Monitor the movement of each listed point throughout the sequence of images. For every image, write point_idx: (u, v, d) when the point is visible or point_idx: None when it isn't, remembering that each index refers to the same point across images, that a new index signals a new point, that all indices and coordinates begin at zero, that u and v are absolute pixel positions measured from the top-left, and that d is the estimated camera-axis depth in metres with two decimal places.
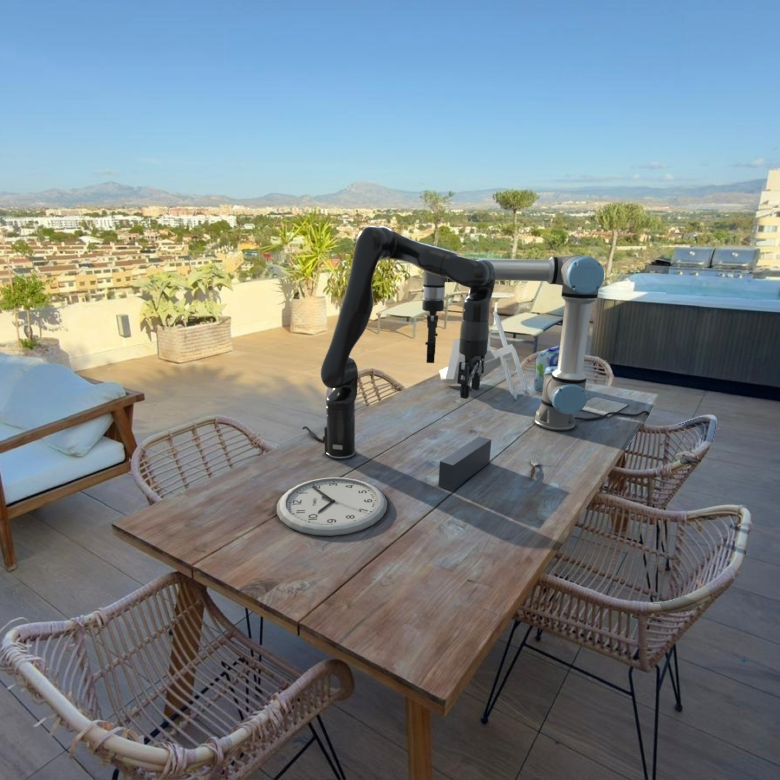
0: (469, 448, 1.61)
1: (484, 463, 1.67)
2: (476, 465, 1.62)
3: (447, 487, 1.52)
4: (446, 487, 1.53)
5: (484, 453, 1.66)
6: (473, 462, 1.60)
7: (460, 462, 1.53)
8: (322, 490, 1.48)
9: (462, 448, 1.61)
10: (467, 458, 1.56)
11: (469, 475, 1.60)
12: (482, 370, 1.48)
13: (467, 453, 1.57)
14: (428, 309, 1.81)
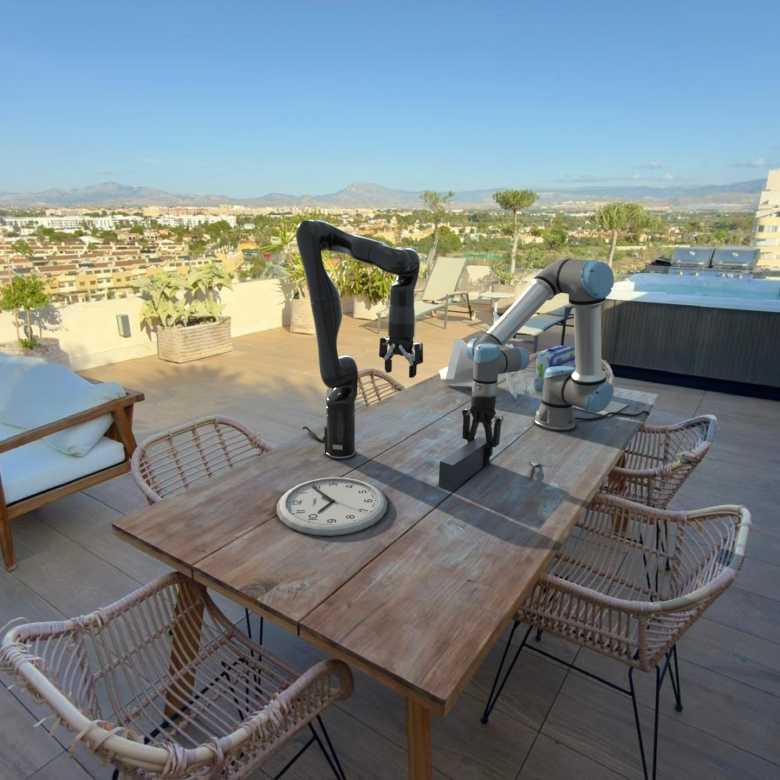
0: (469, 448, 1.61)
1: None
2: (476, 465, 1.62)
3: (447, 487, 1.52)
4: (446, 487, 1.53)
5: None
6: (473, 462, 1.60)
7: (460, 462, 1.53)
8: (322, 490, 1.48)
9: (462, 448, 1.61)
10: (467, 458, 1.56)
11: (469, 475, 1.60)
12: (387, 352, 1.58)
13: (467, 453, 1.57)
14: (491, 407, 1.60)
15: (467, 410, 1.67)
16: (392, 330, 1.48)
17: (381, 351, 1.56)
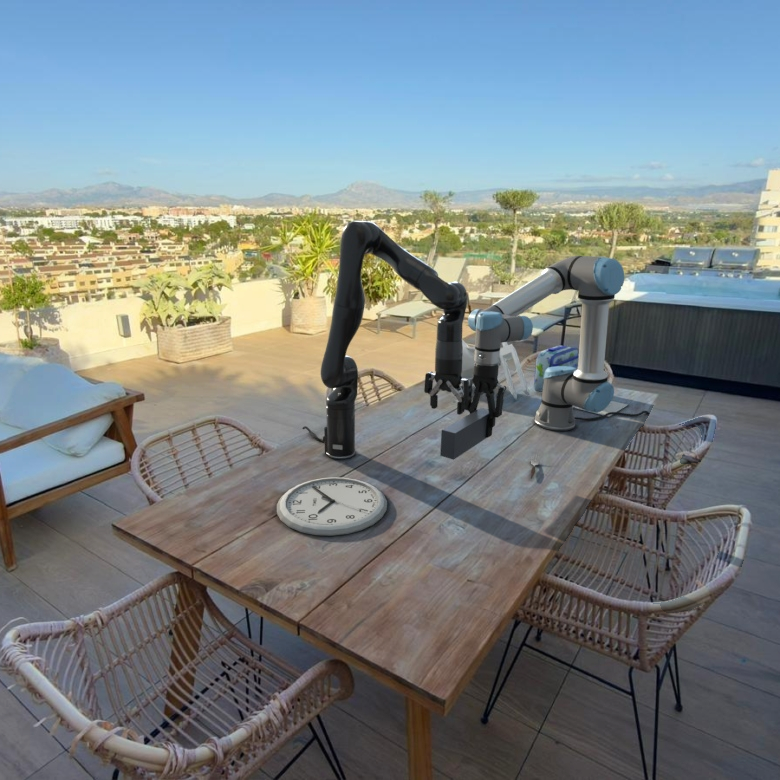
0: (472, 418, 1.58)
1: None
2: (478, 435, 1.60)
3: (449, 456, 1.50)
4: (448, 456, 1.50)
5: None
6: (475, 432, 1.57)
7: (462, 431, 1.50)
8: (322, 490, 1.48)
9: (464, 418, 1.58)
10: (469, 427, 1.53)
11: (471, 445, 1.57)
12: None
13: (469, 422, 1.54)
14: (493, 376, 1.57)
15: None
16: (439, 366, 1.43)
17: (427, 387, 1.51)
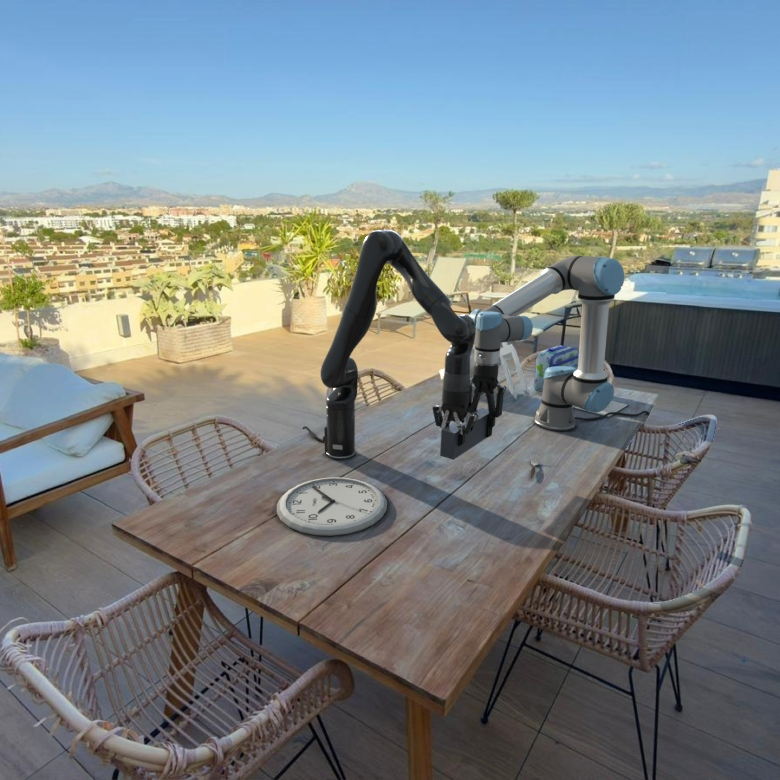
0: None
1: None
2: (478, 436, 1.60)
3: (449, 456, 1.50)
4: (448, 456, 1.50)
5: None
6: (475, 432, 1.57)
7: None
8: (322, 490, 1.48)
9: None
10: None
11: (471, 445, 1.57)
12: (443, 420, 1.53)
13: None
14: (493, 376, 1.57)
15: None
16: (447, 397, 1.45)
17: (437, 420, 1.52)
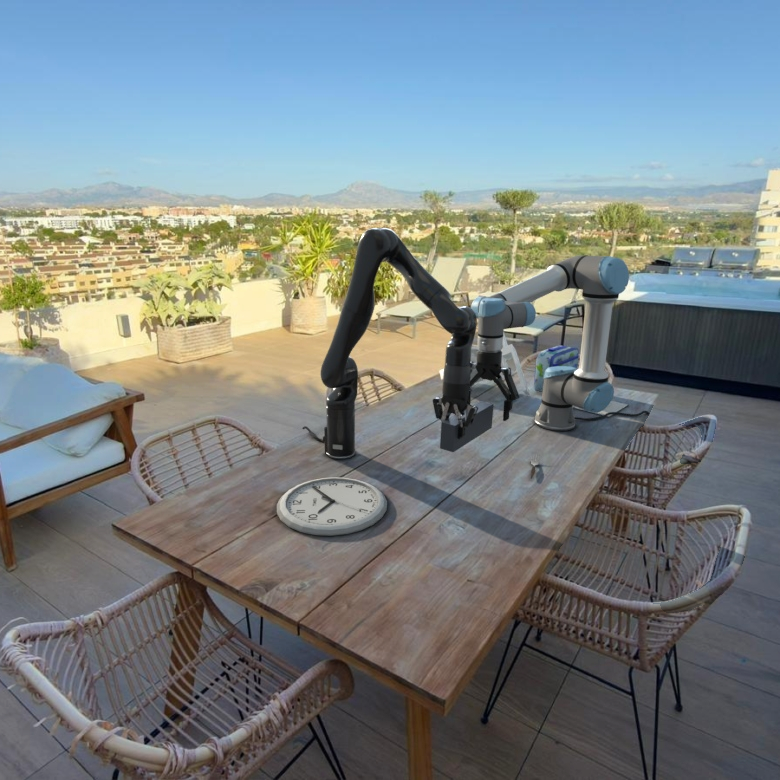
0: None
1: (486, 428, 1.64)
2: (478, 429, 1.59)
3: (449, 449, 1.49)
4: (448, 449, 1.49)
5: (487, 417, 1.63)
6: (475, 425, 1.57)
7: None
8: (322, 490, 1.48)
9: None
10: None
11: (471, 438, 1.56)
12: (443, 412, 1.53)
13: None
14: (497, 362, 1.57)
15: (472, 364, 1.63)
16: (447, 389, 1.44)
17: (437, 412, 1.51)
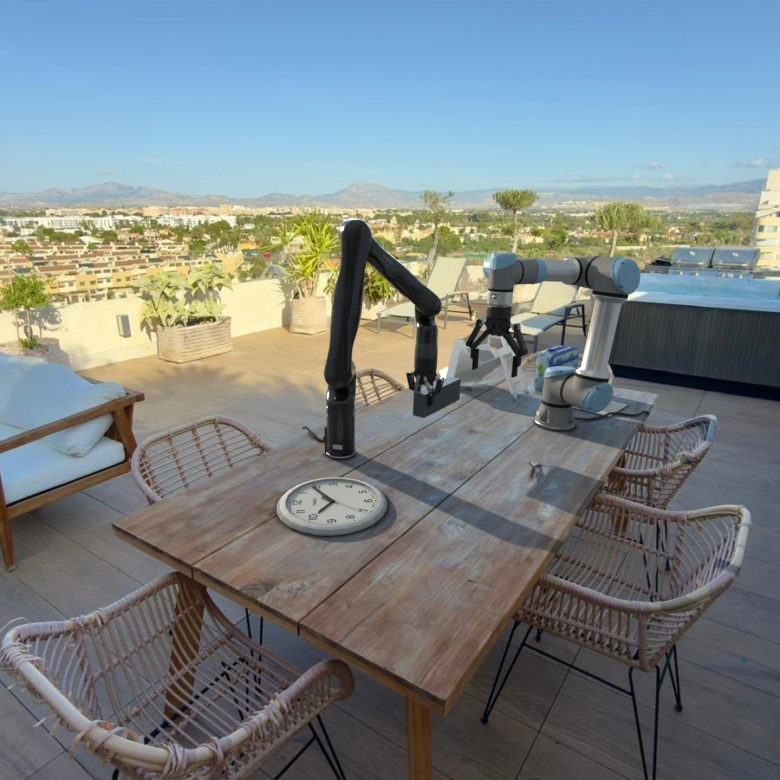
0: None
1: (454, 399, 1.89)
2: (446, 399, 1.84)
3: (420, 415, 1.73)
4: (419, 415, 1.74)
5: (454, 390, 1.87)
6: (443, 396, 1.81)
7: None
8: (322, 490, 1.48)
9: (434, 384, 1.82)
10: None
11: (440, 407, 1.81)
12: None
13: None
14: (506, 317, 1.57)
15: (482, 321, 1.63)
16: (418, 363, 1.68)
17: (410, 384, 1.75)
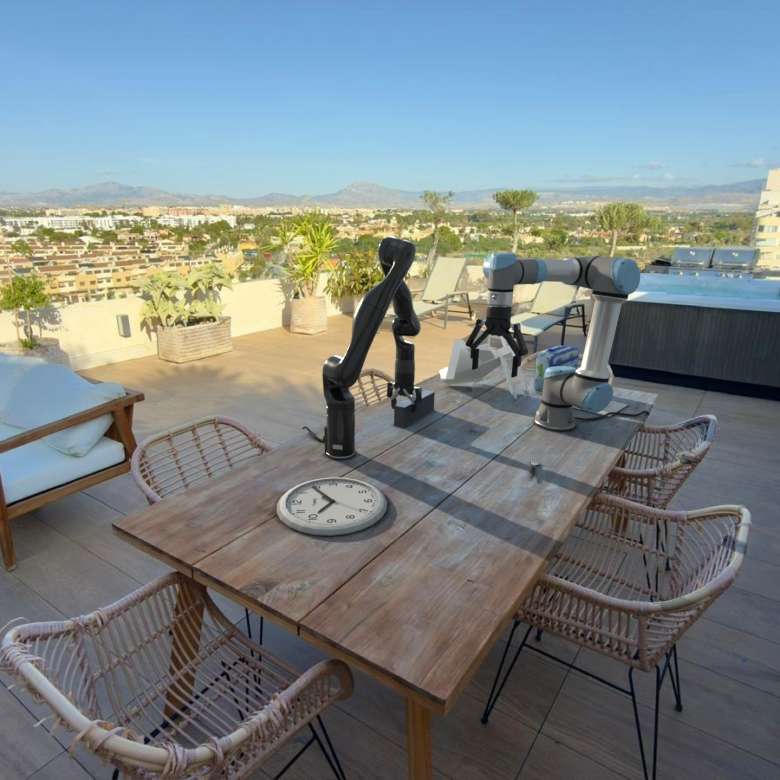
0: None
1: (429, 410, 2.15)
2: (423, 410, 2.10)
3: (400, 425, 1.99)
4: (399, 425, 1.99)
5: (429, 402, 2.14)
6: (420, 408, 2.08)
7: (409, 406, 2.00)
8: (322, 490, 1.48)
9: None
10: None
11: (417, 418, 2.07)
12: (392, 393, 2.03)
13: None
14: (506, 317, 1.57)
15: (482, 321, 1.63)
16: (398, 378, 1.94)
17: (388, 392, 2.01)
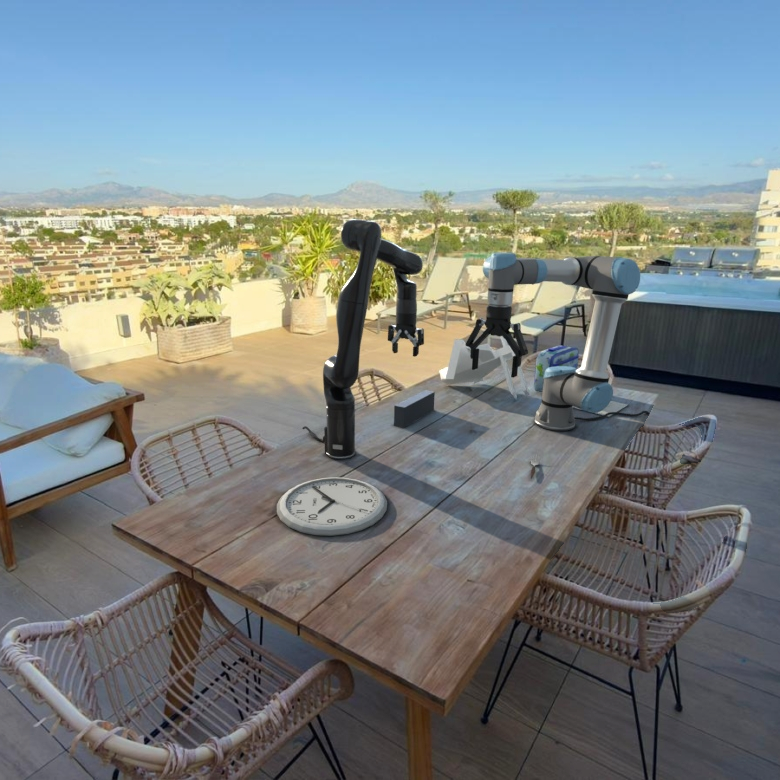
0: (417, 397, 2.08)
1: (429, 410, 2.15)
2: (423, 410, 2.10)
3: (400, 425, 1.99)
4: (399, 425, 1.99)
5: (429, 402, 2.14)
6: (420, 408, 2.08)
7: (409, 406, 2.00)
8: (322, 490, 1.48)
9: (412, 397, 2.08)
10: (415, 404, 2.04)
11: (417, 418, 2.07)
12: (393, 337, 1.97)
13: (415, 400, 2.05)
14: (506, 317, 1.57)
15: (482, 321, 1.63)
16: (399, 318, 1.87)
17: (389, 336, 1.95)
